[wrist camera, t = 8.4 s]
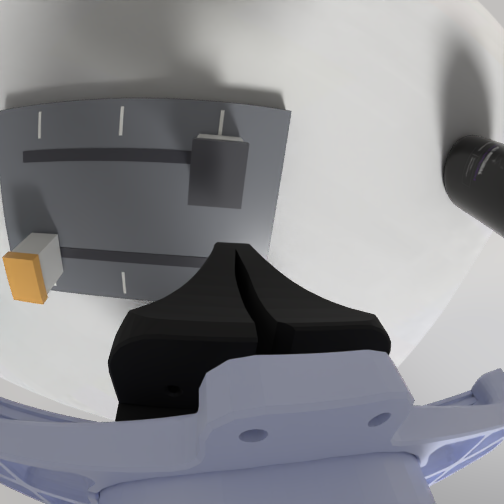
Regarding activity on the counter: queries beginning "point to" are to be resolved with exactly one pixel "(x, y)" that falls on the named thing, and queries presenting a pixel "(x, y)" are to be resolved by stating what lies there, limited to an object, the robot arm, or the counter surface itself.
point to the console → (133, 188)
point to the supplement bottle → (477, 179)
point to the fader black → (217, 171)
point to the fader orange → (34, 267)
